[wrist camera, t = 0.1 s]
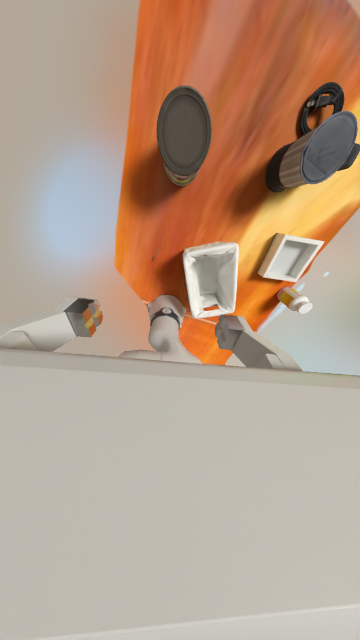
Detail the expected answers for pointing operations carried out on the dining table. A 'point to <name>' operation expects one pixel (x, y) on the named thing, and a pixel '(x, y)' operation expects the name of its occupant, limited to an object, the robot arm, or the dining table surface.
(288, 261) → the box
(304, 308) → the supplement bottle
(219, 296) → the storage basket
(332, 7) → the dining table surface
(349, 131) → the milk frother
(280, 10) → the dining table surface
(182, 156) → the coffee can
